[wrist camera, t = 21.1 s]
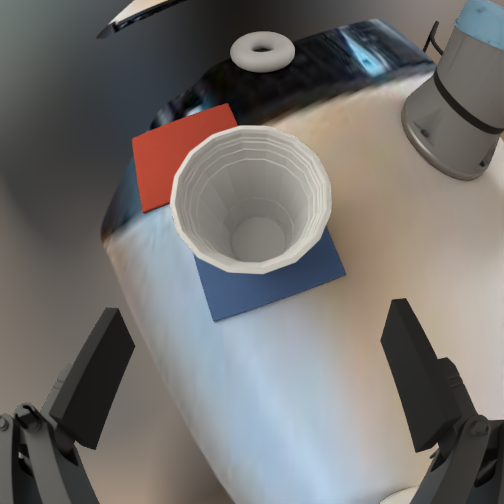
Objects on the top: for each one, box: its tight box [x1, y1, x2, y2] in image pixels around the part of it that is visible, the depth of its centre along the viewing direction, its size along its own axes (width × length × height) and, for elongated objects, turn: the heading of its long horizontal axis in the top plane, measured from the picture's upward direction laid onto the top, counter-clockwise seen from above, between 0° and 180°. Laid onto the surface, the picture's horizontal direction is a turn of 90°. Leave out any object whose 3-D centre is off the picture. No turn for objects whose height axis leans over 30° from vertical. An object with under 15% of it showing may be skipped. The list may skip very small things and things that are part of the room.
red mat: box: [132, 103, 238, 213], centre depth 34 cm, size 12×14×1 cm
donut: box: [230, 32, 295, 72], centre depth 37 cm, size 10×3×10 cm
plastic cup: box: [170, 126, 332, 274], centre depth 24 cm, size 11×11×12 cm
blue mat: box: [193, 226, 346, 322], centre depth 30 cm, size 12×14×1 cm
